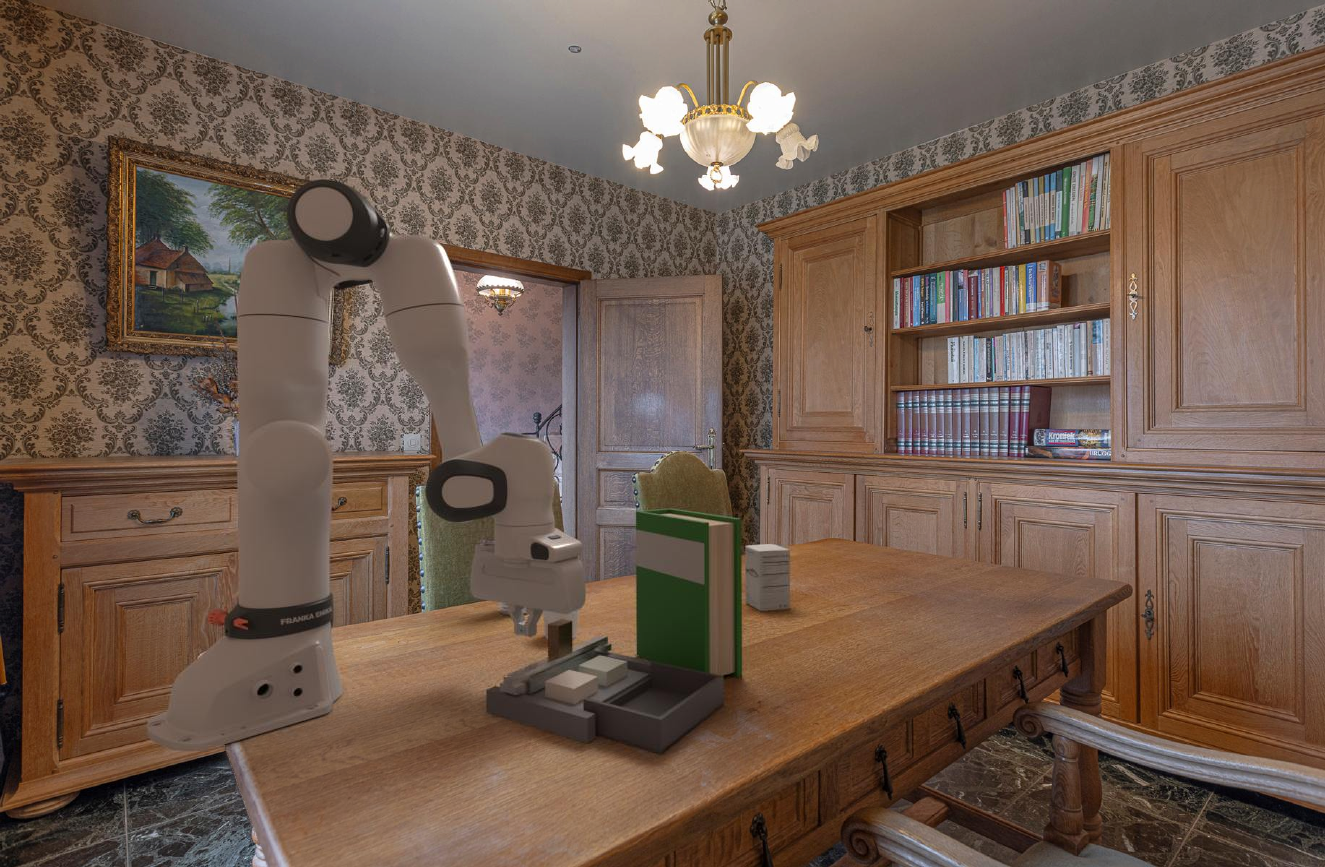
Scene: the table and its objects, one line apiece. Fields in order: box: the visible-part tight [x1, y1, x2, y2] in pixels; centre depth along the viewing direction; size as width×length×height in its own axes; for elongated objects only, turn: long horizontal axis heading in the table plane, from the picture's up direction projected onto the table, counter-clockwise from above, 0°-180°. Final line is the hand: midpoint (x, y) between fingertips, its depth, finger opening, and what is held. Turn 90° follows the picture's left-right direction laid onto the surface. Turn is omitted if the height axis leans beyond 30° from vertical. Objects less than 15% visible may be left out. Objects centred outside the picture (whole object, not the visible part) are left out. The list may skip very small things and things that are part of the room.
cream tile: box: [545, 670, 598, 704], centre depth 89 cm, size 5×5×2 cm
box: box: [583, 661, 725, 755], centre depth 86 cm, size 16×12×4 cm
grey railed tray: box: [485, 651, 652, 744], centre depth 92 cm, size 21×17×3 cm
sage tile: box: [578, 655, 627, 686], centre depth 95 cm, size 5×5×2 cm
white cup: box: [542, 610, 580, 640], centre depth 120 cm, size 7×7×7 cm
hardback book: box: [635, 508, 743, 679], centre depth 105 cm, size 18×7×24 cm, turn 37°
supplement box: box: [744, 543, 791, 612], centre depth 141 cm, size 7×7×13 cm
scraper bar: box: [499, 619, 612, 695], centre depth 94 cm, size 21×3×8 cm, turn 148°
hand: (525, 634), depth 98 cm, fingers closed
